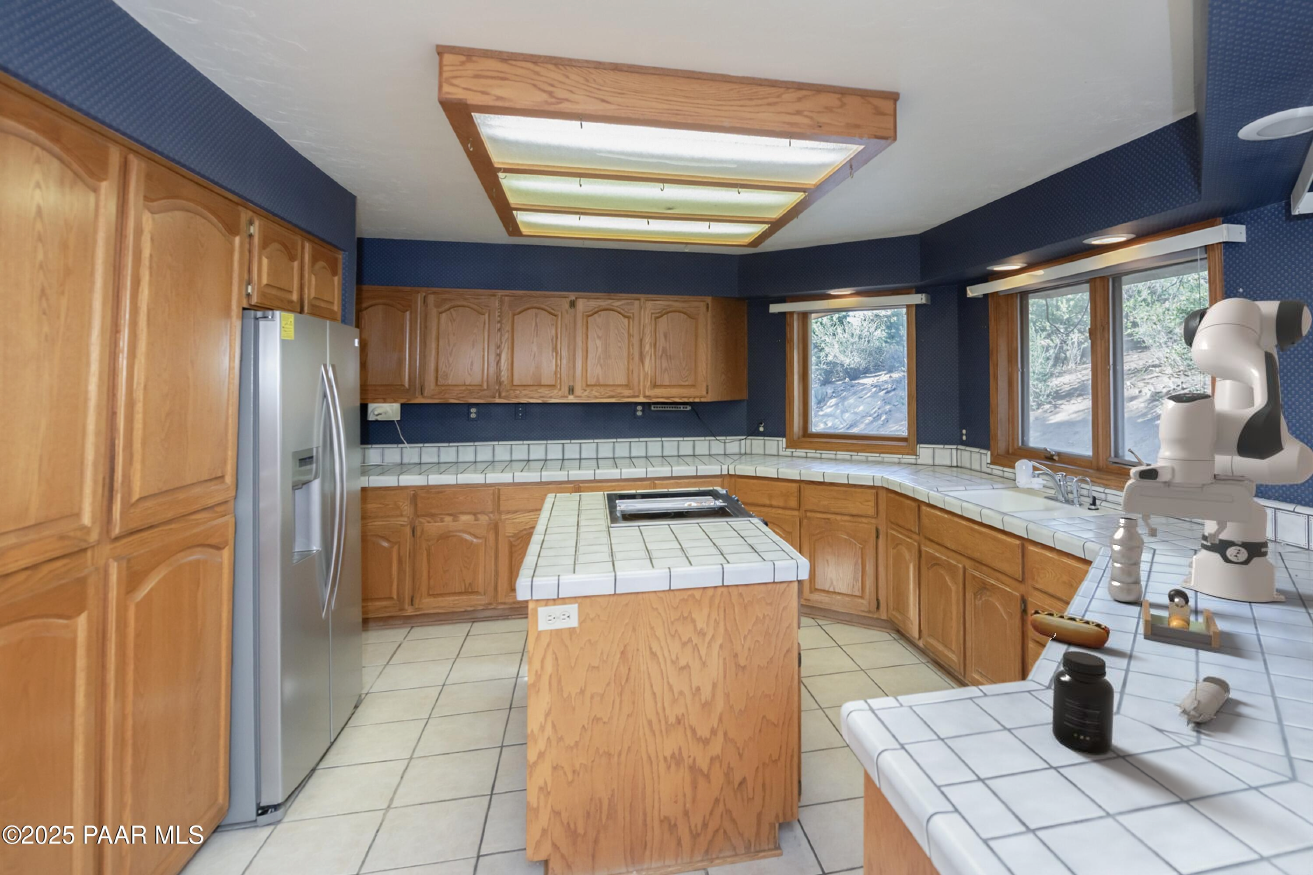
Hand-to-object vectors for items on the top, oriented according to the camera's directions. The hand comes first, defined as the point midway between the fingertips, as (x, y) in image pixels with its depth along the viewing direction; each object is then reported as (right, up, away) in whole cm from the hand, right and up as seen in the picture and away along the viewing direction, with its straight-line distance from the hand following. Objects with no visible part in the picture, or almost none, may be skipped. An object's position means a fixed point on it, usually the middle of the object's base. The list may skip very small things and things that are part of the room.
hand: (1181, 539), depth 123 cm
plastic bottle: (+4, -18, +20) cm, 27 cm away
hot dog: (-27, -20, -4) cm, 34 cm away
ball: (-4, -17, -4) cm, 18 cm away
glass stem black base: (-1, -18, 0) cm, 18 cm away
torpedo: (-24, -22, -31) cm, 45 cm away
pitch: (-1, -19, 0) cm, 19 cm away
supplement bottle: (-49, -22, -40) cm, 67 cm away
